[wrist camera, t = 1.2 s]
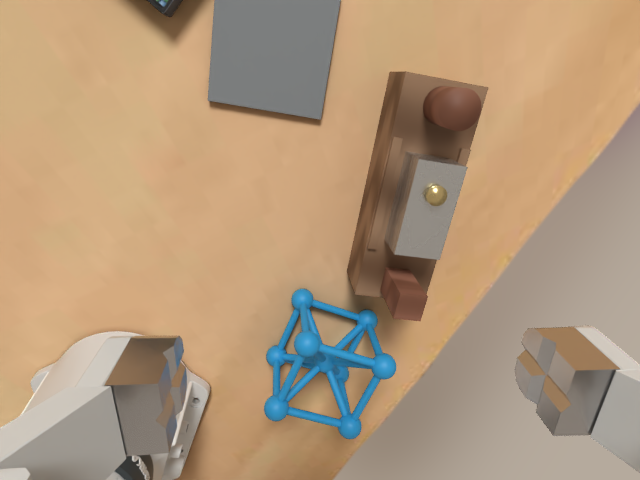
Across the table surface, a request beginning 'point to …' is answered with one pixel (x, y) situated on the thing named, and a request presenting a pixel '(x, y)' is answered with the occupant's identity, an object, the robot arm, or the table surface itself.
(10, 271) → the table surface
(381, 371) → the molecular structure
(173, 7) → the disk drive
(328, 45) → the felt mat
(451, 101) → the plane body
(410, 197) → the lever cap
